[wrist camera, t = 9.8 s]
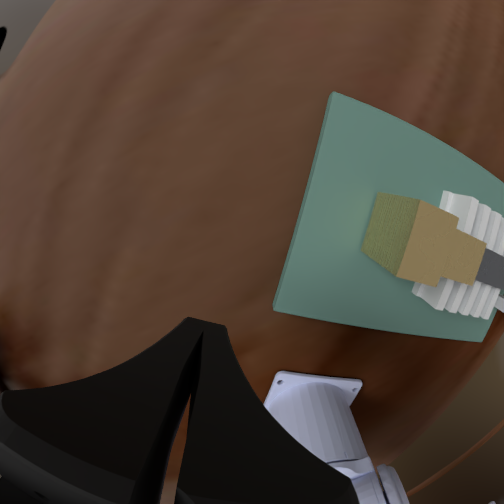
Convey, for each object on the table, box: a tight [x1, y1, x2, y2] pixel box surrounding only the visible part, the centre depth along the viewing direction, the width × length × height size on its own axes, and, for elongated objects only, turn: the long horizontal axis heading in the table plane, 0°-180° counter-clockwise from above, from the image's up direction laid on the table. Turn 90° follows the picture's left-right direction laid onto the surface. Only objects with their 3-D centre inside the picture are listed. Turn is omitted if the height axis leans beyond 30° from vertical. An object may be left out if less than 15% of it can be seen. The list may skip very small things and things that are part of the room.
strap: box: [475, 248, 504, 290], centre depth 15 cm, size 3×12×1 cm, turn 76°
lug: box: [360, 192, 487, 287], centre depth 15 cm, size 4×6×5 cm, turn 76°
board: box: [273, 92, 504, 342], centre depth 16 cm, size 15×23×6 cm, turn 76°
